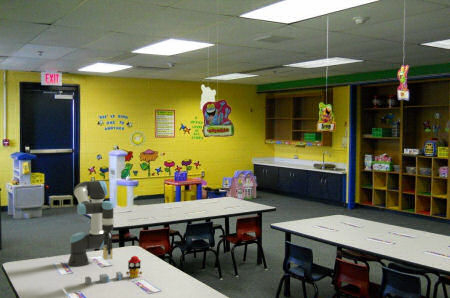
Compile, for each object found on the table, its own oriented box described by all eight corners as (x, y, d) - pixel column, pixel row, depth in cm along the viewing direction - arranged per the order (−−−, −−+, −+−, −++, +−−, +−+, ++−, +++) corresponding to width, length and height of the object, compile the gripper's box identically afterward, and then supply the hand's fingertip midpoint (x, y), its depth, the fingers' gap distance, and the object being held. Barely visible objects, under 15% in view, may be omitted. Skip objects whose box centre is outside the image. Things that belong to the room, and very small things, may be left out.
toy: (126, 279, 312) (126, 258, 311) (125, 275, 320) (125, 254, 320) (142, 278, 315) (142, 257, 314) (141, 274, 323) (141, 253, 323)
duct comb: (85, 284, 301) (85, 276, 301) (120, 278, 313) (120, 271, 313) (87, 287, 296) (87, 279, 295) (122, 281, 308) (122, 274, 308)
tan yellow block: (103, 258, 306) (102, 245, 306) (110, 257, 309) (110, 244, 308) (104, 260, 302) (104, 246, 301) (112, 258, 304) (112, 245, 304)
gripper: (99, 222, 311) (99, 255, 311) (105, 227, 295) (105, 262, 296) (109, 221, 314) (109, 254, 315) (116, 226, 298) (117, 260, 299)
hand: (107, 257), depth 305 cm, fingers closed on tan yellow block, 5 cm apart
